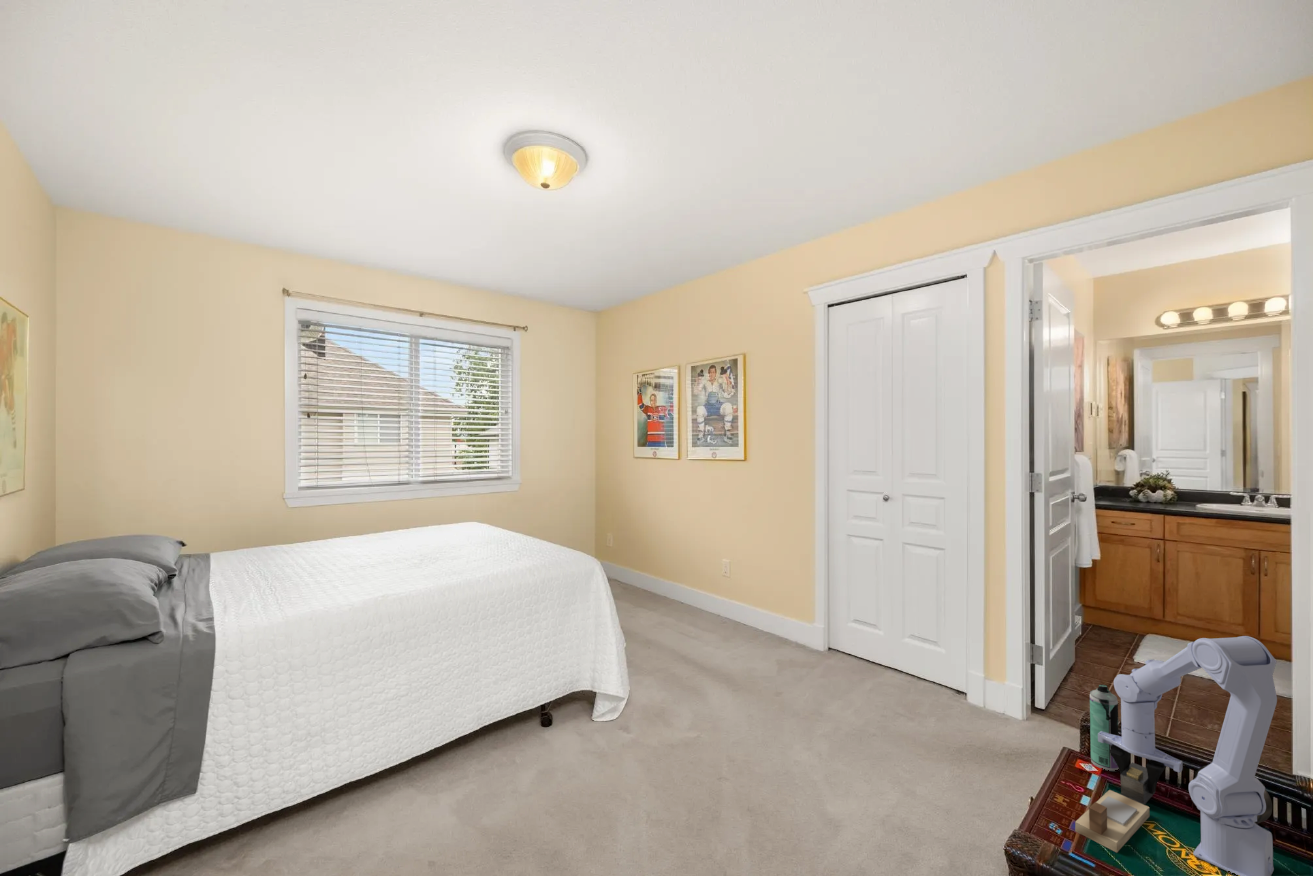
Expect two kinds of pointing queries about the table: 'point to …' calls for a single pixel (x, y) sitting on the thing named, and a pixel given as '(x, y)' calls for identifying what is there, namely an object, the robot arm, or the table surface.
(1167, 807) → the table surface
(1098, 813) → the hand plane
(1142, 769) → the lever cap
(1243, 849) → the robot arm
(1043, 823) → the table surface
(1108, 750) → the spray can
